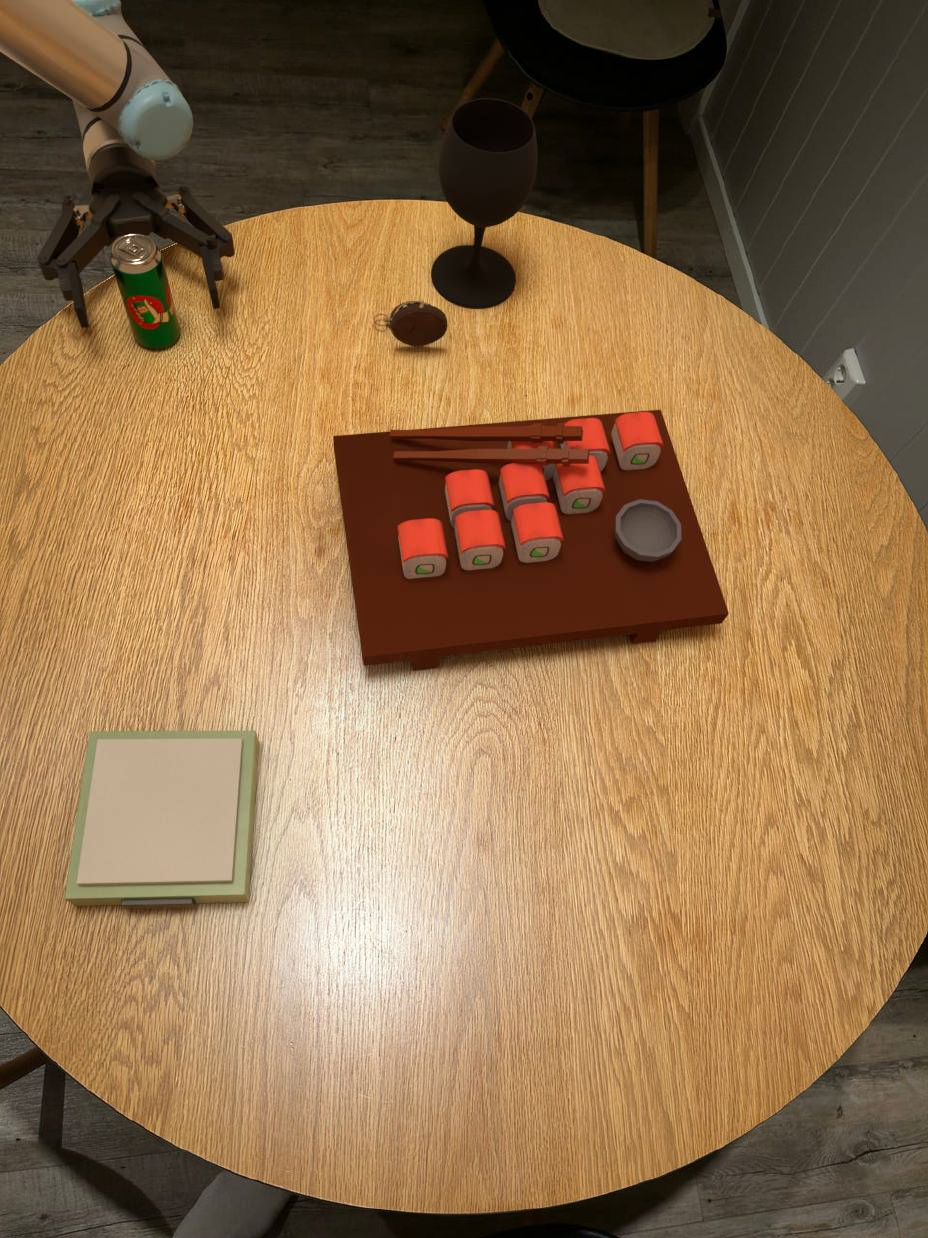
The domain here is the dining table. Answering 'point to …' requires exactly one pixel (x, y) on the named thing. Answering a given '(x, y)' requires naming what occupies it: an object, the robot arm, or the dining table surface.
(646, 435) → the sushi
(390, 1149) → the dining table surface
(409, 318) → the compass
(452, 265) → the wine glass
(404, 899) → the dining table surface
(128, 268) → the soda can
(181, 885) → the scale
